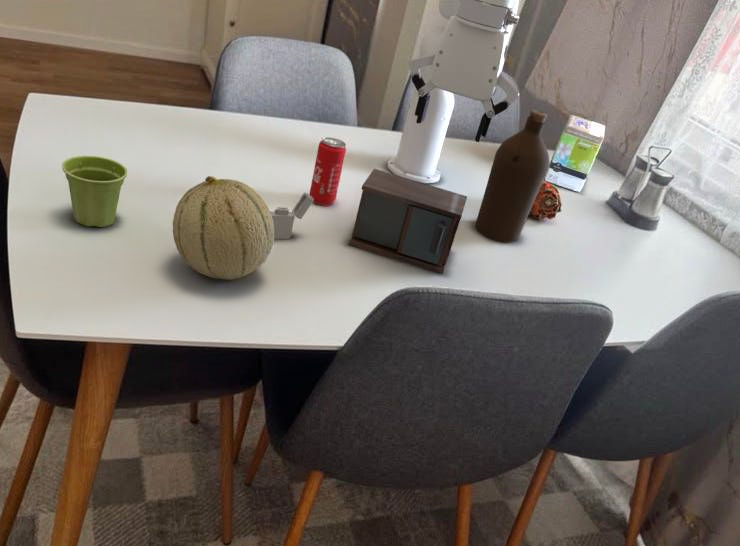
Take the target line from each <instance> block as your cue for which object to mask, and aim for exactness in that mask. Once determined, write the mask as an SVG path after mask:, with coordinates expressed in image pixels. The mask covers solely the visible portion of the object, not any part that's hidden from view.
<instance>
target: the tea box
mask: <svg viewBox="0 0 740 546" xmlns="http://www.w3.org/2000/svg"><path fill="white" fill-rule="evenodd" d="M605 131H606V125H604V124H601V123H598V122H595V121H592V120H589V119H586V118H583V117H581V116H577V115H573V114H569V116H568V118H567V120H566V123H565V125H564V127H563V129H562V132H561V134H560V137H559V140H558V142H557V145H556V147H555V149H554V152H553V154H552V157H551V160H550V161H549V167H548V171H547V173H546V176H545V178H544V181H546V182H549V183H550V184H552V185H555V186H559V187H561V188H565V189H568V190H571V191H574V192H578V193H580V192H581V191H582V189H583V187H584V184H585V182H586V180H587V178H588V175H589V174H590V171H591V169H592V167H593V164H594V161H595V160H596V157H597V155H598V153H599V150H600V148H601V145H602V143H603V142H604V138H605Z"/></svg>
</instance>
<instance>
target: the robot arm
mask: <svg viewBox="0 0 740 546" xmlns="http://www.w3.org/2000/svg"><path fill="white" fill-rule="evenodd" d="M519 4H520V0H439V1H438V10H439V11H438V12H439V14H440V15H441V16H442V17H443V18H444V19H446V20H448V21H447V23H446V26H432V27H431V28H428V29H427V30H425V32H424V33H423V36H422V38H421V42H420V47H419V54H418V58H414V59H411V60H410V61H409V63H408V65H409V71H410V76H411V81H412V84H413V90H412V94H411V98H410V101H409V106H408V109H407V114H406V117H405V122H404V126H403V130H402V133H401V138H400V142H399V145H398V149H397V153H396V157H392V158H389V160H388V161H387V165H386V166H387V168H388V170H389V171H390V173H392V174H395V175H398V176H401V177H405V178H408V179H411V180H415V181H418V182H421V183H425V184H434V183H438V182H439V181H440V179H441V176H442V174H441V171H440V170H439V169H437V166H438V162H439V159H440V158H441V152H442V149H443V145H444V141H445V138H446V136H447V135H446V134H447V131H448V127H449V125H450V122H451V121H450V120H451V118H452V114H453V112H454V107H455V95H458V96H461V97H464V98H468V99H470V100H474V101H476V102H477V101H478V102H480V103H481V104H482V106H483V109H484V113H483V115H481V119H480V122H479V125H478V129H477V132H476V135H475V137H474V141H475V142H476V143H480V141H481V140H482V138H487V135H488V132H489V129H490V126H491V123H492V121H493V118H494V117H495V116H497V115H499V114H501V113H502V112H504V111H506V110H507V109H508V108H509V107H510V106H511V105H512V104H513V103H514V102H515V101H516V100H517V99H518V98H519V96H520V91H519V90H518V89H517V88H516V87H515V86H514V85H513V84H512V83H511V82H510V81H509V80H508V79H507V78H506V77H505V76H504V74H502V72H503V68H504V64H505V60H506V57H507V53H508V47H509V40H510V37H511V33H512V31H513V27H514V26H518V22H519V19H520V15H517V13H518V10H519ZM498 86H499V87H500V89H501V90H502V91H503V92H504V93H505V94H506V96H505V98H504V99H503V100H501V101H500V102H498V103H496V104H495V101H494V98H493V96H495V93H496V91H497V89H498ZM454 94H455V95H454Z"/></svg>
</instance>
